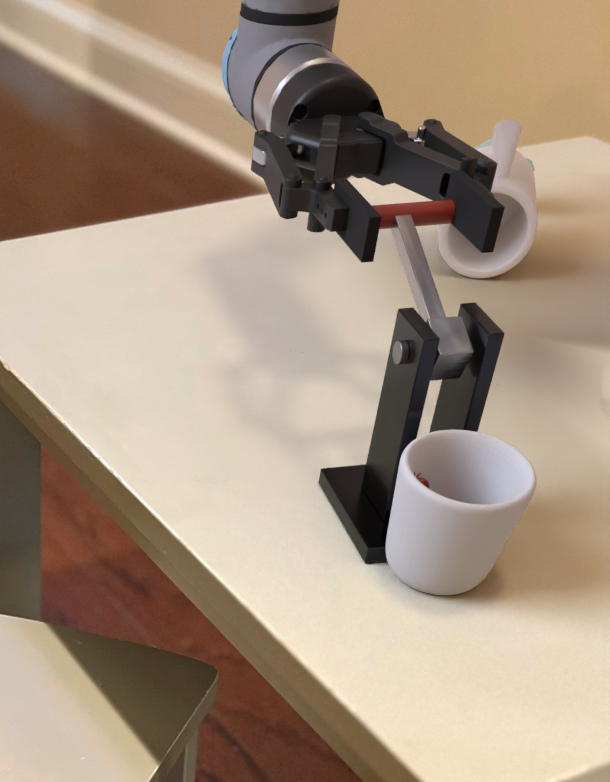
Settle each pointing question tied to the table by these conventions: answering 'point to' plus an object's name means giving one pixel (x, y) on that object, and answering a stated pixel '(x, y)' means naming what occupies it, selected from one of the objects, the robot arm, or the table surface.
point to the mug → (518, 216)
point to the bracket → (410, 420)
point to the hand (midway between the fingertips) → (432, 234)
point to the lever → (428, 280)
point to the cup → (455, 509)
